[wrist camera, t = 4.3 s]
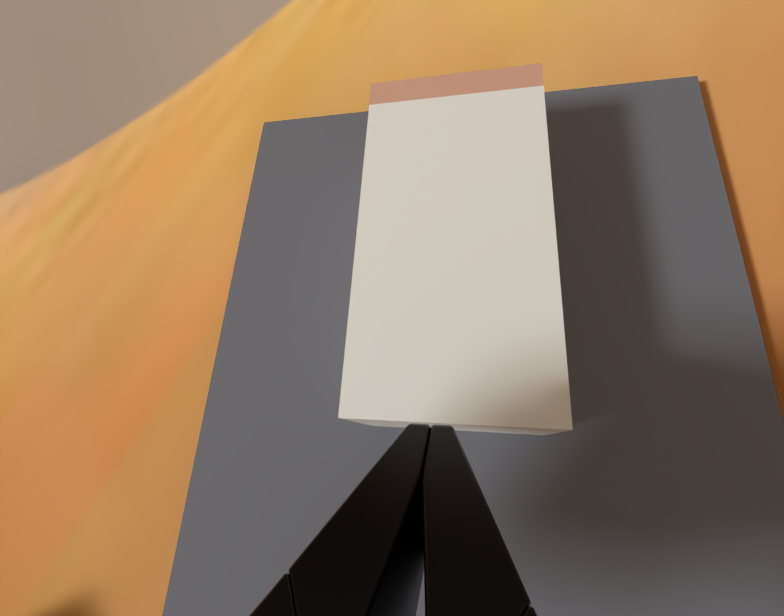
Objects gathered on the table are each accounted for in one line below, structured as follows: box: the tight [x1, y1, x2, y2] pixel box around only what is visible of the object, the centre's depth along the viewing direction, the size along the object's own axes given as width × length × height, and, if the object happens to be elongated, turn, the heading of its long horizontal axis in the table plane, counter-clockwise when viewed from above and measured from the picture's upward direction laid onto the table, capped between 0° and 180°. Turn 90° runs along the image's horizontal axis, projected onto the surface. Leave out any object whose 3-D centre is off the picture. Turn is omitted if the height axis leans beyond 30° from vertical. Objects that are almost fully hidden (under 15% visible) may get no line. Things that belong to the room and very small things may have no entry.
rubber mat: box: [162, 76, 784, 616], centre depth 15 cm, size 24×20×1 cm
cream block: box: [338, 63, 573, 435], centre depth 14 cm, size 4×6×12 cm
